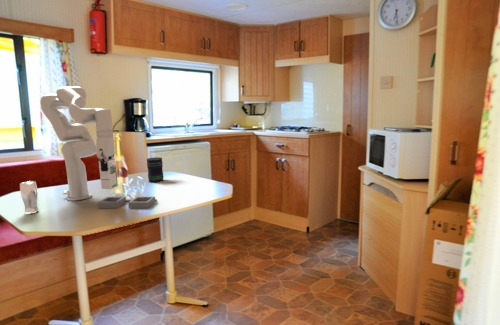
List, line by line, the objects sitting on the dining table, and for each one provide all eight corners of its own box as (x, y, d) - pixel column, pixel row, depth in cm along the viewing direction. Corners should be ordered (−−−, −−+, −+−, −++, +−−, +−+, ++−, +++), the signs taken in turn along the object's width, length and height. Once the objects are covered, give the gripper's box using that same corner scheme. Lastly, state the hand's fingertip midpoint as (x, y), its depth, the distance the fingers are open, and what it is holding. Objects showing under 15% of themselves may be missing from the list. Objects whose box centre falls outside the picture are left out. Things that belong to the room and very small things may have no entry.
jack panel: (98, 208, 177) (97, 202, 177) (109, 201, 189) (109, 195, 189) (148, 208, 175) (147, 202, 174) (156, 201, 187) (156, 195, 186)
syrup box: (111, 189, 177) (109, 161, 174) (101, 189, 178) (98, 160, 176) (117, 186, 183) (115, 158, 180) (107, 186, 184) (105, 158, 181)
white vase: (37, 209, 178) (32, 180, 175) (42, 211, 174) (38, 182, 171) (21, 213, 173) (16, 183, 170) (26, 215, 168) (22, 185, 166)
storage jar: (167, 180, 235) (165, 158, 232) (155, 183, 226) (154, 160, 224) (156, 178, 240) (154, 157, 237) (145, 181, 232) (143, 159, 229)
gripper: (106, 132, 184) (108, 166, 187) (88, 136, 167) (91, 173, 171) (120, 132, 183) (122, 166, 187) (103, 136, 166) (106, 173, 170)
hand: (107, 169), depth 179 cm, fingers closed on syrup box, 6 cm apart
